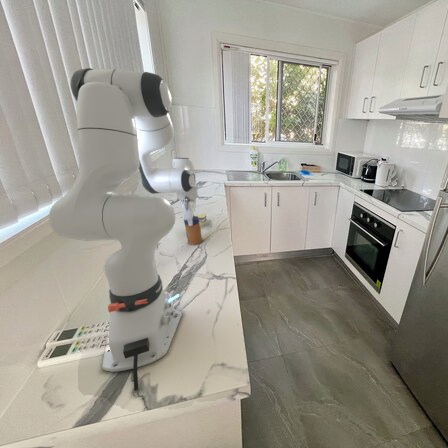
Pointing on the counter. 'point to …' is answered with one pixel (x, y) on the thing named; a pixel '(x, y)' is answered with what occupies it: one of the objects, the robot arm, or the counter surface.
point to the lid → (195, 220)
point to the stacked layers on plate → (203, 221)
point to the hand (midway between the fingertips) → (191, 221)
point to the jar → (193, 233)
